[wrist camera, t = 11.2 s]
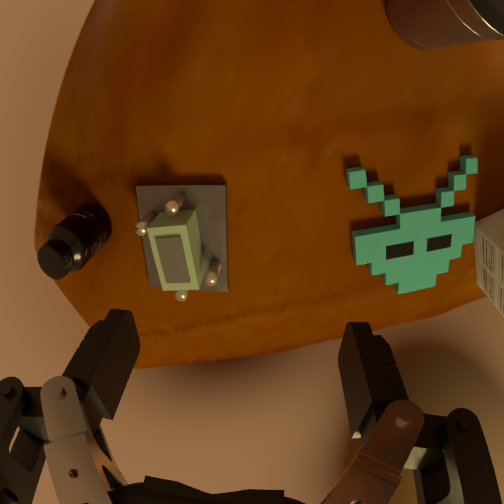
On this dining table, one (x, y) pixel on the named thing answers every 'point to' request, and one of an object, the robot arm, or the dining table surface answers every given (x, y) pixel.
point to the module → (177, 250)
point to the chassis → (208, 218)
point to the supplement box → (490, 257)
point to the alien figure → (413, 232)
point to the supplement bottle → (74, 241)
